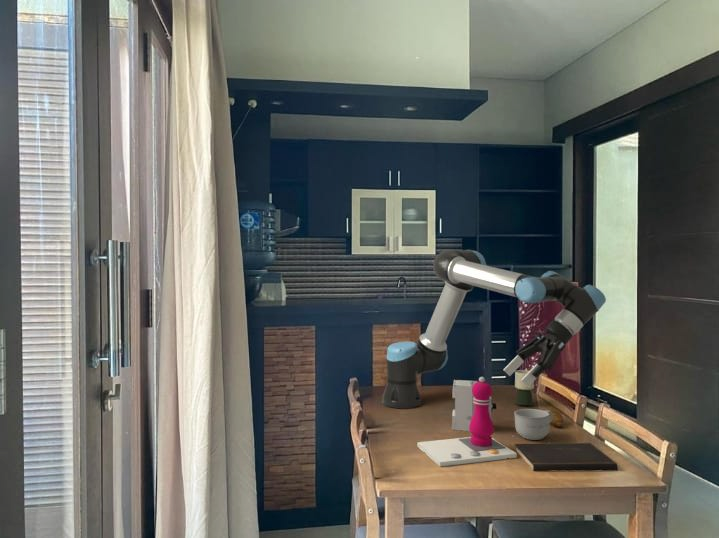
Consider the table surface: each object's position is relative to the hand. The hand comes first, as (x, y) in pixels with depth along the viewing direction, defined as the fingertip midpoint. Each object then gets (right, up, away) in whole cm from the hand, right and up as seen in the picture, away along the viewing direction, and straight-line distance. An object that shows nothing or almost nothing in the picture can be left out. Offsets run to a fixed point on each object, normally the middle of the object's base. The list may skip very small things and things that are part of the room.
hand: (515, 378), depth 160 cm
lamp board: (-16, -21, -4) cm, 26 cm away
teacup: (+10, -21, +10) cm, 25 cm away
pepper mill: (-10, -20, 0) cm, 22 cm away
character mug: (+17, -20, +45) cm, 53 cm away
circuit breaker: (-8, -21, +18) cm, 29 cm away
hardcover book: (+11, -22, -9) cm, 26 cm away
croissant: (+20, -21, +24) cm, 38 cm away
